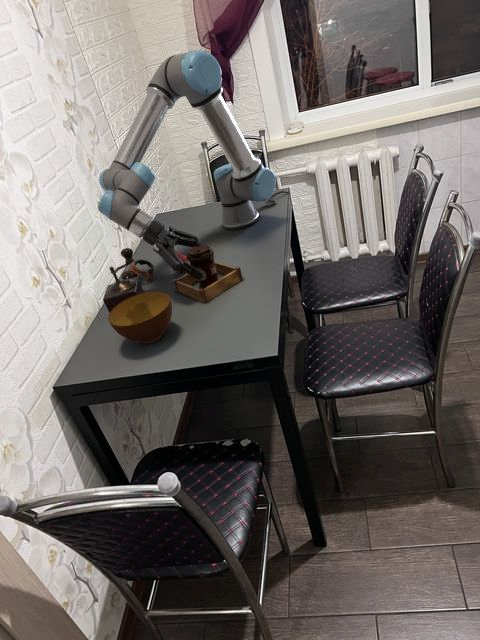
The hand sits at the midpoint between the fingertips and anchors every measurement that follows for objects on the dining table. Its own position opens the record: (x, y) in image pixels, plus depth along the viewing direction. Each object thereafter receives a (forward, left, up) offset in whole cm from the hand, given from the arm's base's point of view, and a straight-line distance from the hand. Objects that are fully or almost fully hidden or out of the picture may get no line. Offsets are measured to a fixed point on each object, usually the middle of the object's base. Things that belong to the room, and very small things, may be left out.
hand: (207, 266), depth 149 cm
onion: (-1, -20, -7) cm, 21 cm away
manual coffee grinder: (+23, -14, -7) cm, 28 cm away
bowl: (+29, +7, -7) cm, 30 cm away
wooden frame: (+1, -1, -7) cm, 7 cm away
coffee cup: (+1, -1, -7) cm, 7 cm away
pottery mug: (+11, -30, -7) cm, 33 cm away
